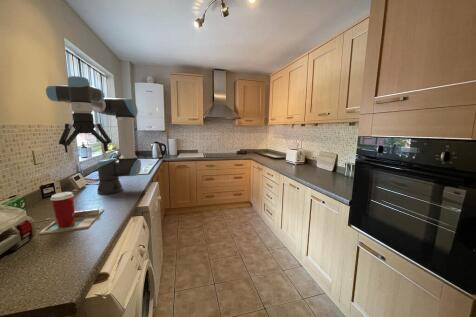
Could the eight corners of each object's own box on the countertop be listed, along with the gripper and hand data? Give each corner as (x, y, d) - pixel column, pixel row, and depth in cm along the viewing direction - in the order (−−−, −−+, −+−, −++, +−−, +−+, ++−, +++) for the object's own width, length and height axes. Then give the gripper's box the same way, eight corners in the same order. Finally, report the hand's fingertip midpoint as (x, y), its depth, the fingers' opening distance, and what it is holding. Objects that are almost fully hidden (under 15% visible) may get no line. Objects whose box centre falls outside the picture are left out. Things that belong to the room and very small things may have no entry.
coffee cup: (82, 221, 96) (78, 192, 94) (63, 230, 88) (58, 198, 86) (69, 219, 99) (65, 190, 96) (49, 227, 91) (44, 196, 88)
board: (64, 214, 104) (64, 213, 104) (103, 210, 109) (103, 209, 109) (39, 234, 85) (38, 232, 85) (88, 228, 90) (87, 226, 90)
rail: (57, 218, 98) (56, 213, 98) (99, 214, 103) (98, 208, 103) (55, 220, 97) (54, 214, 96) (98, 215, 102) (97, 209, 101)
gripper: (43, 111, 84) (51, 161, 87) (110, 112, 90) (115, 158, 94) (54, 112, 91) (61, 158, 94) (115, 113, 97) (120, 156, 101)
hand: (88, 158), depth 94 cm, fingers open, 13 cm apart
